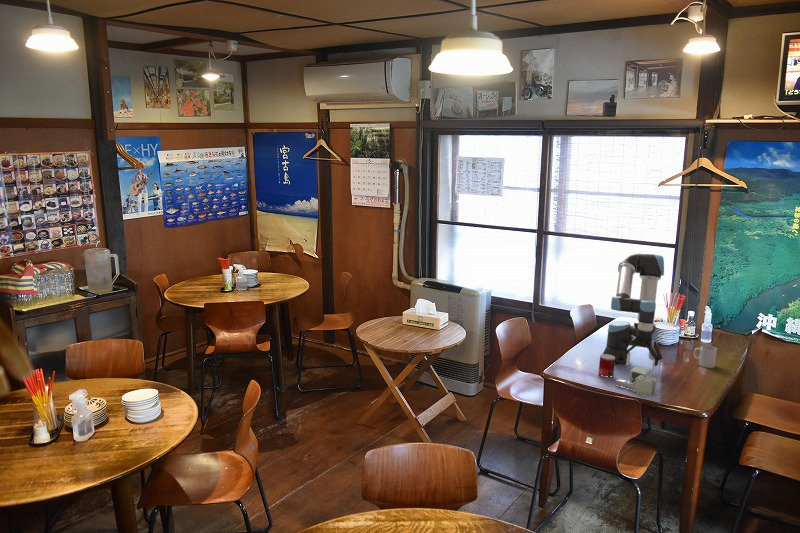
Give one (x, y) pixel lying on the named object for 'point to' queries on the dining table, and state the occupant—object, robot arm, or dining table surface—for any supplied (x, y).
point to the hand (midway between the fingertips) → (640, 367)
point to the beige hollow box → (638, 373)
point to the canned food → (606, 365)
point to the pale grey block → (639, 385)
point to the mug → (706, 356)
